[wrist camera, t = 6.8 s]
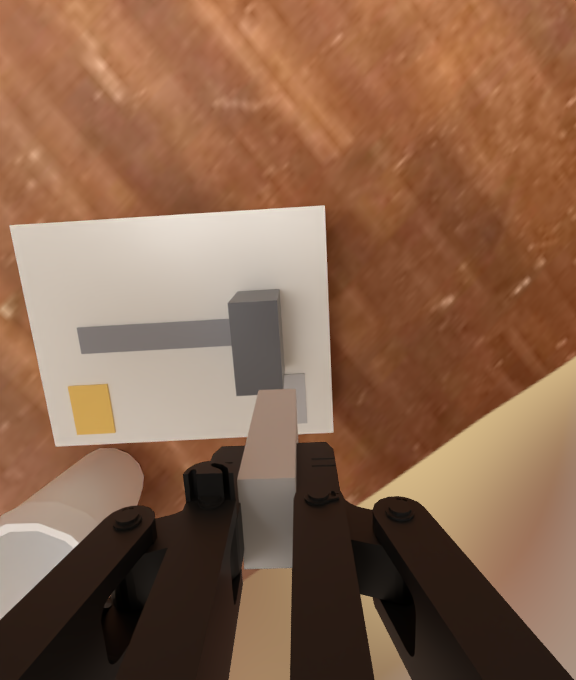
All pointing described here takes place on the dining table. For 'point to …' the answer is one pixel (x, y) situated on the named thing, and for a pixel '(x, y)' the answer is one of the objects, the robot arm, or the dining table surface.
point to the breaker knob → (256, 341)
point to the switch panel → (171, 320)
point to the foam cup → (62, 518)
